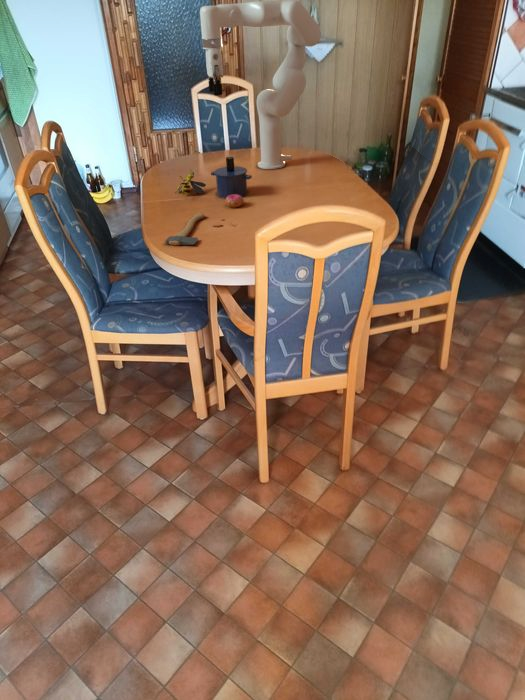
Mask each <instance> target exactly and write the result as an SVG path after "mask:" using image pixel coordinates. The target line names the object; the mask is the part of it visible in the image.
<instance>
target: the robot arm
mask: <svg viewBox="0 0 525 700" xmlns="http://www.w3.org/2000/svg"><path fill="white" fill-rule="evenodd" d="M199 19H200V31H201V42H202V43H201V45H202V50H205V65H206V74H207V76H208V91H209V92H210V93H213V96H223V83H222V78H223V77H224V65H223V56H222V51H221V49H223V38H222V37H223V36H222V28H227V29H233V28H236V27H251V28H261V27H262V28H263V27H276V26H277V27H278V26H288V27H287V30H286V39H287V54H286V56H285V58H284V59H283V61H282V62H281V64H280V66H279V67H278V69H277V70H276V71H275V73H274V75H273V77H272V86H273V88H274V89H269V88H267V89H263V90H262V91H260V92H259V93H258V95H257V98H256V110H257V115H258V122H259V123H258V124H259V125H258V126H259V145H260V147H259V148H260V161H259V162H257V167H258V168H259V169H262V170H278V169H281V168H284V167H285V166H286V161H291V160H293V156H292V154H290V155H288V154H283V153H282V151H283V150H282V120H281V118H283V117H284V118H285V117H286V116H288V115H289V113H291V111H292V110H293V109H294V107H295V105H297V102H298V101H299V99H300V97H302V95H303V93H304V91H305V88H306V84H307V77H306V75H305V73H304V72H303V68H304V67H305V64H306V61H307V51H306V47H309V48H310V47H315V46H316V45H317V44H318V43H319V42H320V40H321V36H322V35H321V34H322V33H321V28H320V26H319V24H318V23H317V21H316V19H314V17H313V16H312V15H311V13H310V12H309V10H308V9H307V8H306V7H305V5H303V4H302V3H301V2H300V1H299V0H259V1H249V2H240V3H221V4H219V3H218V4H216V5H203V6H201V7H200V8H199Z"/></svg>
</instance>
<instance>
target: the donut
mask: <svg viewBox="0 0 525 700" xmlns="http://www.w3.org/2000/svg"><path fill="white" fill-rule="evenodd" d="M244 199H245V198H244V196H242V197H241V195H237V194H232V195H229V196H227V197H226V198H224V204H225V205H226V206H227V207H228V208H233V209H235V208H239V207H242V206H243V205H244V203H245V202H244V201H245V200H244Z"/></svg>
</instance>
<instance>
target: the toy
mask: <svg viewBox="0 0 525 700" xmlns="http://www.w3.org/2000/svg"><path fill="white" fill-rule="evenodd" d="M189 171H191V172H190V173H189V174H188V175H187V176H186V179H183V177H182V175H178V176H179V178H180V179H181V180H182V181H183V182H180V184H179V185H178V187H177V189H176V190H175V192H174V194H177V192H178V191H181V193H180V194H181V195H184V194H185V196H188V195H189V194H190V192H191V190H192V189H193V190H194V191H195V192H196V193H197V194H204V193H205V192H204V189H202V188H205V187H206V186H207V185H206V183H204V182H201V181H195V180H192V179H193V178H195V172H196V169H194V171H193V170H192V169H188V170H187V172H189ZM189 184H190V185H191V186H190V185H189ZM191 188H192V189H191Z"/></svg>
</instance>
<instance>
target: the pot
mask: <svg viewBox="0 0 525 700" xmlns="http://www.w3.org/2000/svg"><path fill="white" fill-rule="evenodd" d="M210 175H211V176H214V177H215V181H216V192H217V196H218V197H220V198H222V199H226V197H227V196H229V195H232V194H237V195H241V197H245V196H246V195H248V182H247V180H250V179H252V178H253V176H252V174H247V173H245V174H243V175H240V176H235V177H221V176H217V175H215V170H213V171H211V172H210Z"/></svg>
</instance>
